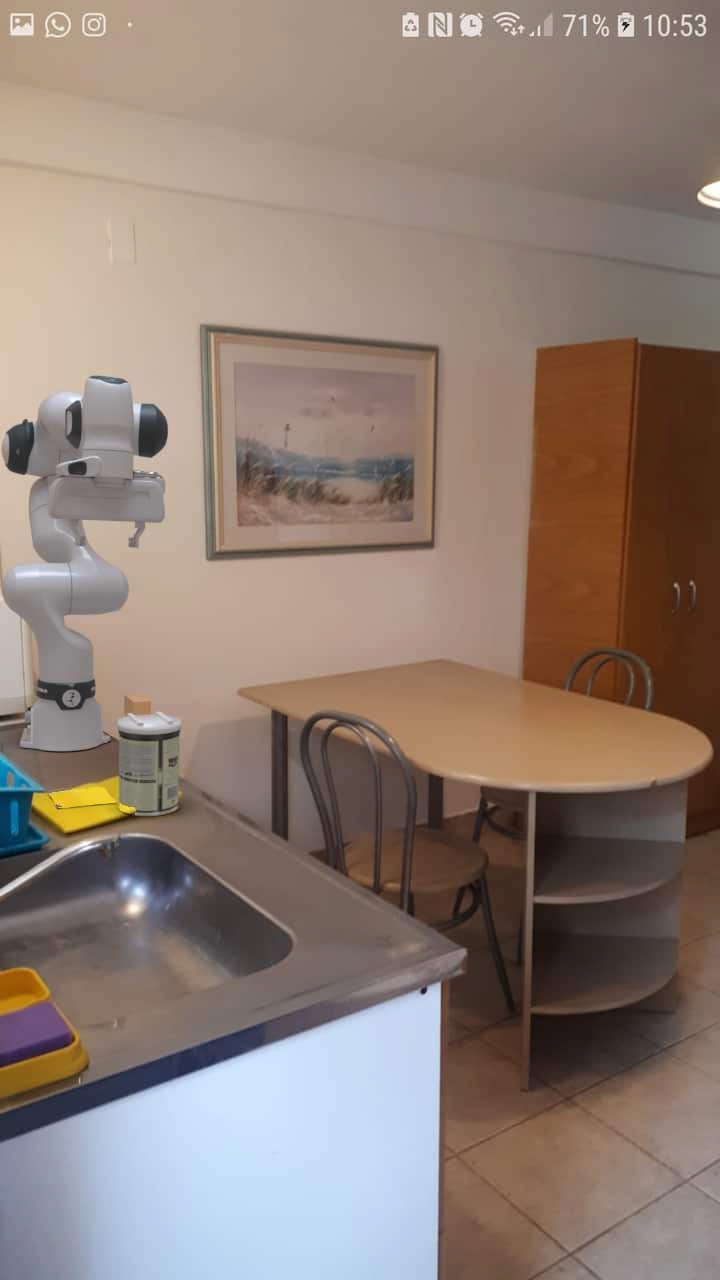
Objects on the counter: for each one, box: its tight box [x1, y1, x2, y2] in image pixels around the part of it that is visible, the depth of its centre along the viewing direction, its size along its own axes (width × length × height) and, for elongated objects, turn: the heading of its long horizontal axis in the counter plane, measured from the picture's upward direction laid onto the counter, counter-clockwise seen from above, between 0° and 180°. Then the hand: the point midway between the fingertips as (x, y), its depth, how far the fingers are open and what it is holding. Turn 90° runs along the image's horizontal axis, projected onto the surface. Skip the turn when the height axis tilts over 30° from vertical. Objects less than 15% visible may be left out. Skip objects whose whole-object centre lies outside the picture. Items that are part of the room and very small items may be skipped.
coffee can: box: [118, 729, 181, 817], centre depth 162 cm, size 10×10×14 cm
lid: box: [117, 693, 182, 735], centre depth 164 cm, size 17×11×4 cm, turn 27°
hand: (107, 546), depth 170 cm, fingers open, 8 cm apart
